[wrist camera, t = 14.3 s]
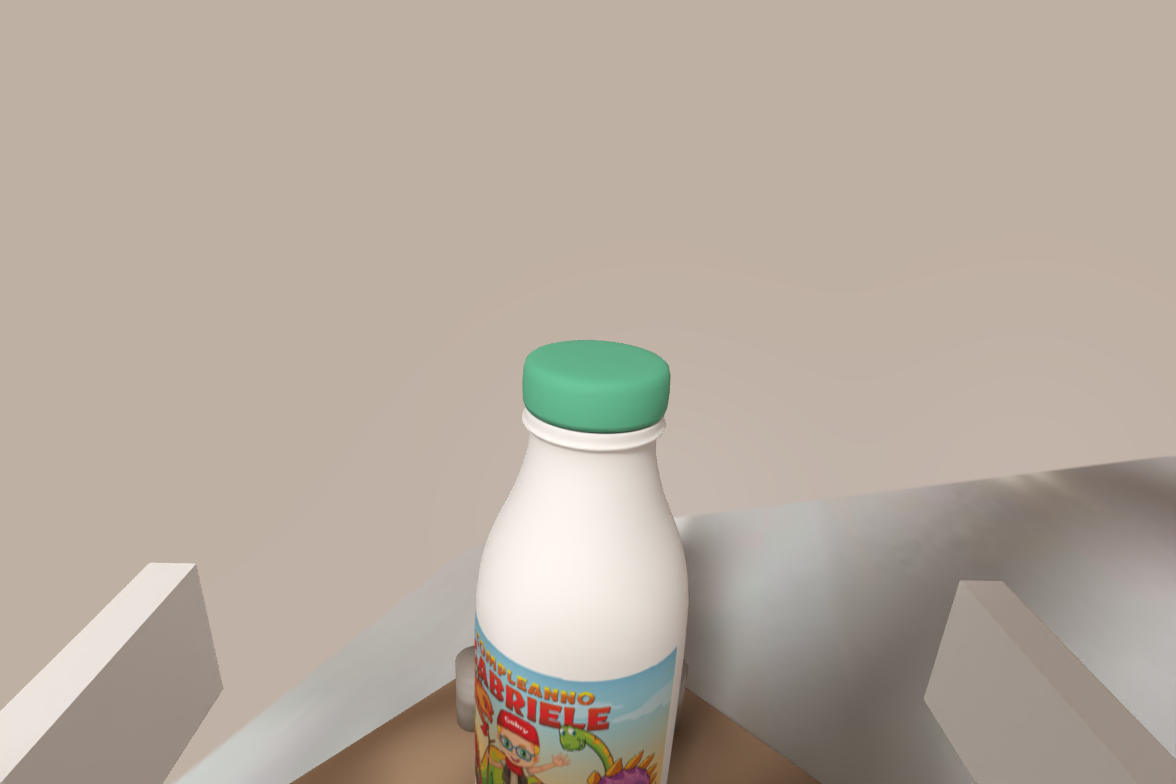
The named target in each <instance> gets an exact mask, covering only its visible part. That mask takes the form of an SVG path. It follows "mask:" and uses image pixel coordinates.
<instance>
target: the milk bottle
mask: <svg viewBox="0 0 1176 784" xmlns="http://www.w3.org/2000/svg"><path fill="white" fill-rule="evenodd" d="M669 393H670V371H669V366H668V364H667V363H666V362H665V361H664V360H663V359H662V358H661V357H660V356H658V355H656V354H655V353H653V352H650V351H648V350H645V349H642V348H639V347H635V346H632V345H627V344H622V343H616V342H609V341H596V340H577V341H565V342H557V343H552V344H548V345H545V346H542V347H539V348H538V349H536V350H534V351H533V352H531V353H530V354H529V355H528V356H527V358H526V361H525V364H524V370H523V400H524V404H525V410H524V411H523V414H522V420H523V423H524V425H525V427H526V428H527V429H528V430H529V443H528V448H527V452H526V456H525V458H524V461H523V465H522V467H521V470H520V473H519V475H518V478H517V480H516V482H515V484H514V486H513V489H512V491H511V493H510V494H509V496H508V498H507V500H506V502H505V504H504V506H503V507H502V509H501V511H500V513H499V515H498V517H497V519H496V521H495V523H494V525H493V527H492V529H491V532H490V534H489V537H488V539H487V542H486V545H485V548H484V552H483V556H482V559H481V563H480V569H479V576H478V583H477V590H476V614H475V784H667V778H668V771H669V764H670V757H671V749H672V742H673V735H674V728H675V720H676V713H677V706H678V698H679V690H680V682H681V674H682V666H683V658H684V650H685V641H686V630H687V618H688V607H689V594H688V573H687V565H686V558H685V554H684V549H683V545H682V541H681V538H680V535H679V532H678V530H677V527H676V524H675V521H674V519H673V516H672V514H671V512H670V509H669V506H668V503H667V501H666V498H665V495H664V492H663V488H662V484H661V480H660V476H659V470H658V465H657V459H656V439H657V438H659V437H660V436H661V435H662V433H663V432H664V430H665V427H666V423H665V419H664V414H665V412H666V409H667V406H668V399H669Z"/></svg>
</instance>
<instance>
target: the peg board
mask: <svg viewBox="0 0 1176 784" xmlns="http://www.w3.org/2000/svg"><path fill="white" fill-rule="evenodd" d="M455 662H456V679H454V680H453V681H451V682H450V683H448V684H447V685H445V686H443V687H442V688H440V689H439V690H437V691H435V692H434V693H432V694H431V695H429V696H428V697H426V698H424V699H423V700H421V701H420V702H418V703H417V704H415V705H413V706H412V707H410V708H409V709H407V710H405V711H404V712H402V713H401V714H399V715H398V716H396V717H394V718H393V719H391V720H390V721H388V722H387V723H385V724H383V725H382V726H380V727H379V728H377V729H375V730H374V731H372V732H371V733H369V734H368V735H366V736H364V737H363V738H361V739H360V740H358V741H357V742H355V743H353V744H352V745H350V746H349V747H347V748H345V749H344V750H342V751H341V752H339V753H338V754H336V755H334V756H333V757H331V758H330V759H328V760H327V761H325V762H323V763H322V764H320V765H319V766H317V767H315V768H314V769H312V770H311V771H309V772H308V773H306V774H304V775H303V776H301V777H300V778H298V779H296V780H295V781H293V782H292V783H290V784H475V646H471V647H468V648H465V649H463V650H462V651H461V652H460V653H459V654H458V655H457V657H456V661H455ZM687 671H688V666H687V663H686V661H685V660H684V659H683V666H682V674H681V682H680V690H679V698H678V706H677V713H676V720H675V728H674V735H673V742H672V749H671V757H670V764H669V771H668V778H667V784H821V783H820V782H819V781H817V780H816V779H814V778H813V777H811V776H810V775H809V774H807V773H806V772H804V771H803V770H802V769H800V768H799V767H797V766H796V765H794V764H793V763H792V762H790V761H789V760H787V759H786V758H785V757H783V756H782V755H780V754H779V753H777V752H776V751H775V750H773V749H772V748H770V747H769V746H768V745H766V744H765V743H763V742H762V741H760V740H759V739H758V738H756V737H755V736H753V735H752V734H750V733H749V732H748V731H746V730H745V729H743V728H742V727H741V726H739V725H738V724H736V723H735V722H733V721H732V720H731V719H729V718H728V717H726V716H725V715H724V714H722V713H721V712H719V711H718V710H716V709H715V708H714V707H712V706H711V705H709V704H708V703H707V702H705V701H704V700H702V699H701V698H699V697H698V696H697V695H695V694H694V693H692V692H691V691H689V690H688V689H687V688H685V685H686V678H687Z"/></svg>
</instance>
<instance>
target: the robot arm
mask: <svg viewBox="0 0 1176 784" xmlns="http://www.w3.org/2000/svg"><path fill="white" fill-rule="evenodd" d="M222 690H223V685H222V680H221V676H220V671H219V667H218V663H217V657H216V653H215V648H214V644H213V639H212V634H211V630H210V625H209V621H208V616H207V611H206V607H205V602H204V598H203V593H202V589H201V584H200V579H199V575H198V570H197V565H196V564H180V563H175V564H174V563H149V564H148V565H147V566H146V567H145V568H144V569H143V570H142V571H141V572H140V573H139V574H138V575H137V576H136V577H135V578H134V579H133V580H132V581H131V582H130V583H129V584H128V585H127V586H126V587H125V588H124V589H123V590H122V591H121V592H120V593H119V594H118V595H117V596H116V597H115V598H114V599H113V600H112V601H111V602H110V603H109V604H108V605H107V606H106V607H105V608H104V609H103V610H102V611H101V612H100V613H99V614H98V615H97V616H96V617H95V618H94V619H93V620H92V621H91V622H90V623H89V624H88V625H87V626H86V627H85V628H84V629H83V630H82V631H81V632H80V633H79V634H78V635H77V636H76V637H75V638H74V639H73V640H72V641H71V642H70V643H69V644H68V645H67V646H66V647H65V648H64V649H63V650H62V651H61V652H60V653H59V654H58V655H57V656H56V657H55V658H54V659H53V660H52V661H51V662H50V663H49V664H48V665H47V666H46V667H45V668H43V669H42V671H41V672H40V673H39V674H38V675H37V676H35V678H33V680H31V681H30V682H29V683H28V684H27V685H26V686H25V687H24V688H23V689H22V690H21V691H20V692H19V693H18V694H17V695H16V696H15V697H14V698H13V699H12V700H11V701H10V702H9V703H8V704H7V705H6V706H5V707H4V708H3V709H2V710H1V711H0V784H163V782H164V780H165V779H166V777H167V776H168V774H169V773H170V771H171V770H172V768H173V767H174V765H175V763H176V762H177V760H178V759H179V757H180V756H181V754H182V752H183V751H184V749H185V748H186V746H187V745H188V743H189V741H190V740H191V738H192V737H193V735H194V734H195V732H196V731H197V729H198V727H199V726H200V724H201V723H202V721H203V720H204V718H205V716H206V715H207V713H208V712H209V710H210V708H211V707H212V706H213V704H214V702H215V701H216V699H217V698H218V696H219V695H220V693H221V691H222ZM924 701H925V702H926V704H927V706H928V707H929V709H930V710H931V712H932V714H933V715H934V717H935V718H936V720H937V722H938V723H939V725H940V726H941V728H942V730H943V731H944V733H945V734H946V736H947V738H948V739H949V741H950V742H951V744H952V746H953V747H954V749H955V750H956V752H957V754H958V755H959V757H960V758H961V760H962V762H963V763H964V765H965V766H966V768H967V770H968V771H969V773H970V774H971V776H972V778H973V779H974V781H975V782H976V784H1176V759H1175V758H1174V757H1173V756H1172V755H1171V754H1170V753H1169V752H1168V751H1167V750H1166V749H1165V748H1164V747H1163V746H1162V745H1161V744H1160V743H1159V742H1158V741H1157V739H1156V738H1155V737H1154V736H1153V735H1152V734H1151V733H1150V732H1149V731H1148V730H1147V729H1146V728H1145V727H1144V726H1143V725H1142V724H1141V723H1140V722H1139V721H1138V720H1137V719H1136V718H1135V717H1134V716H1133V715H1132V714H1131V713H1130V712H1129V711H1128V710H1127V709H1126V708H1125V707H1124V706H1123V705H1122V703H1121V702H1120V701H1119V700H1118V699H1117V698H1116V697H1115V696H1114V695H1113V694H1112V693H1111V692H1110V691H1109V690H1108V689H1107V688H1106V687H1105V686H1104V685H1103V684H1102V683H1101V682H1100V681H1099V680H1098V679H1097V678H1096V677H1095V676H1094V675H1093V674H1092V673H1091V672H1090V671H1089V670H1088V669H1087V667H1086V666H1085V665H1084V664H1083V663H1082V662H1081V661H1080V660H1079V659H1078V658H1077V657H1076V656H1075V655H1074V654H1073V653H1072V652H1071V651H1070V650H1069V649H1068V648H1067V647H1066V646H1065V645H1064V644H1063V643H1062V642H1061V641H1060V640H1059V639H1058V638H1057V637H1056V636H1055V635H1054V634H1053V632H1052V631H1051V630H1050V629H1049V628H1048V627H1047V626H1046V625H1045V624H1044V623H1043V622H1042V621H1041V620H1040V619H1039V618H1038V617H1037V616H1036V615H1035V614H1034V613H1033V612H1032V611H1031V610H1030V609H1029V608H1028V607H1027V606H1026V605H1025V604H1024V603H1023V602H1022V601H1021V600H1020V599H1019V598H1018V596H1017V595H1016V594H1015V593H1014V592H1013V591H1012V590H1011V589H1010V588H1009V587H1008V586H1007V585H1006V584H1005V583H1004V582H1003V581H976V580H960V581H959V584H958V588H957V591H956V594H955V598H954V601H953V604H952V607H951V611H950V614H949V617H948V620H947V624H946V627H945V630H944V634H943V637H942V640H941V643H940V647H939V650H938V653H937V657H936V660H935V663H934V666H933V670H932V673H931V676H930V680H929V683H928V686H927V689H926V693H925V696H924Z"/></svg>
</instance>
